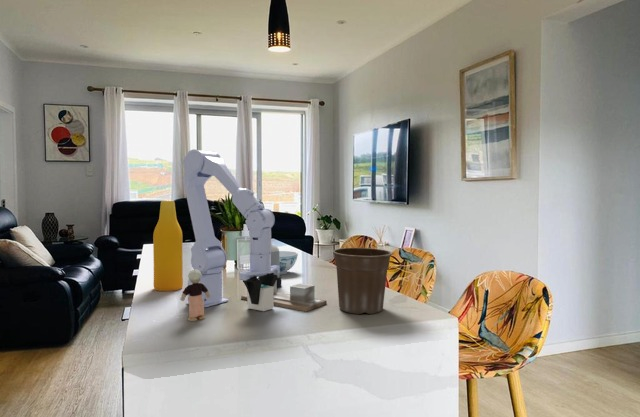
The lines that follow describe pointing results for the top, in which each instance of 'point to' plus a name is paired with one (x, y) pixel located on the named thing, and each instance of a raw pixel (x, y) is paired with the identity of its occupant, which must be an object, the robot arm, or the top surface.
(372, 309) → the plant pot
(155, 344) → the top surface
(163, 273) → the beer bottle
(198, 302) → the grandmother figurine
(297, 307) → the board
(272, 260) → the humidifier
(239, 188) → the robot arm
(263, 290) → the block
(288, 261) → the chinaware
